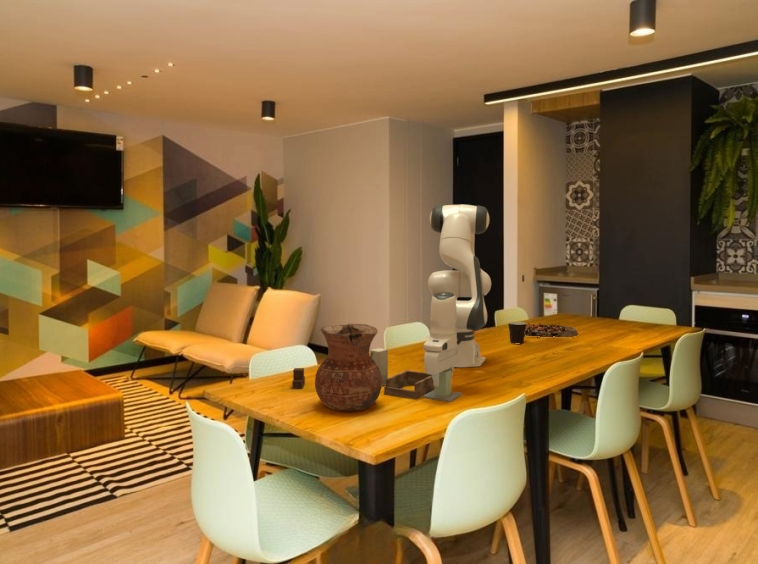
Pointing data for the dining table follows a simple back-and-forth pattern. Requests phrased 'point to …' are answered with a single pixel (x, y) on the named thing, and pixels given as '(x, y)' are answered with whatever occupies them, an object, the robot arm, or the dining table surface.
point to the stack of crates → (298, 378)
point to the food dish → (550, 330)
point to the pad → (442, 398)
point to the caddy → (412, 378)
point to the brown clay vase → (348, 369)
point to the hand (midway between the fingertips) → (442, 382)
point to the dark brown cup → (517, 332)
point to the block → (444, 384)
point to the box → (381, 362)
